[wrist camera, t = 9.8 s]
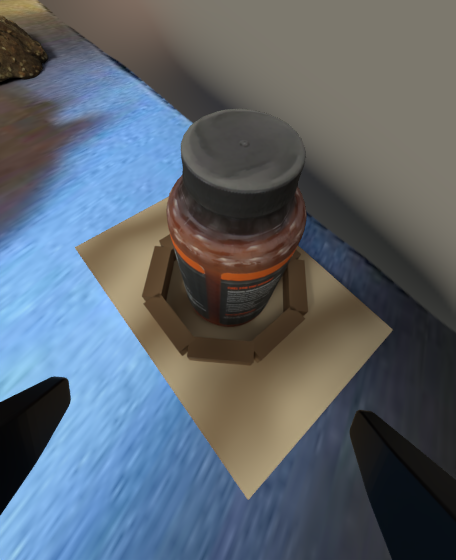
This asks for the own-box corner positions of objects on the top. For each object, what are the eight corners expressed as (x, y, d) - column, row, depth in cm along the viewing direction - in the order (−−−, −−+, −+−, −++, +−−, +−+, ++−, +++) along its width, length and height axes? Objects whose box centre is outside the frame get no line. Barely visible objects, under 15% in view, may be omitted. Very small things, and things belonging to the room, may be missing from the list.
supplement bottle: (284, 290, 18) (377, 149, 8) (228, 347, 16) (254, 262, 6) (227, 242, 19) (240, 72, 9) (170, 288, 17) (106, 137, 7)
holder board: (384, 333, 18) (409, 323, 15) (245, 493, 13) (252, 513, 11) (214, 180, 24) (214, 156, 21) (81, 254, 19) (63, 234, 17)
